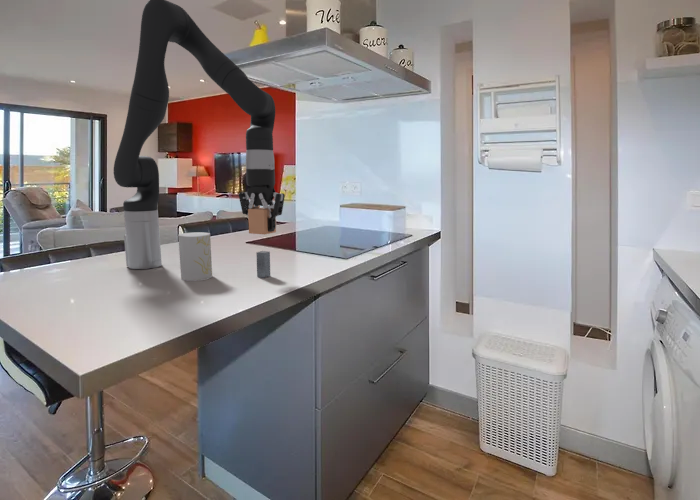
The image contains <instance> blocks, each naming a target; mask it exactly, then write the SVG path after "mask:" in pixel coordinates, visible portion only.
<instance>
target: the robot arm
mask: <svg viewBox="0 0 700 500" xmlns="http://www.w3.org/2000/svg"><path fill="white" fill-rule="evenodd" d="M139 32H140V34H139V43H138V44H139V45H138V46H139V47H138V55H137V60H136V67H135V73H134V78H133V83H132V87H131V91H130V96H129V103H128V108H127V109H128V110H127V113H126V114H127V115H126V119H125V125H124V129H123V133H122V136H121V140H120V142H119V147H118V150H117V153H116V156H115V160H114V163H113V178H114V181H115V183H116V184H117V185H118V186H120V187H123V188H136V193H134V195H133V196H131V197H130V198H128V199H126V200H124V201H123V205H122V206H123V207H122V208H123V218H124V228H125V230H124V231H125V235H124V236H123V242H124V251H125V253H124V254H125V262H126V267H128V268H129V269H132V270H147V269H155V268H159V267H161V266H162V265H163V264H162V263H163V261H162V248H161V236H160V235H161V234H160V221H159V209H158V208H159V201H160V172H159V166H158V164H157V162H156V160H155V159H154V158H152V157H151V156H148V155H147V156H146V155H141V151H142V148H143V145H144V144H145V142H146V141H147V139H148V138H149V137H150V136H151V135H152V134H153V133H154V131H155V130H156V129H158V127H159V126H160V125H161V124H162V122H163V120H164V119H165V115H166V113H167V107H168V105H169V100H170V99H169V98H170V88H169V87H170V86H169V82H168V78H167V74H166V69H165V60H166V59H165V58H166V54H167V49H168V45H169V43H175V44H177V45H178V46H180V47H182V48H183V49H184V50H185V51H187V52H189V53H190V54H191V55H192V56H193V57H194V58H195V59H196V61H198V63H199V64H200V66H201V68H202V69H203V71H204V72H205V73H206V75H207V76H208V77H209V78H210V79H211V80H212V81H213V82H214V83H215V84H216V85H217V86H219V87H220V89H222V91H224V92H225V93H226V94H227V95H229V96H230V97H231V99H232V100H233V101H234V102H235V104H236V105H237V106H238V107H239V108H240V109H241V110H242V111H244V112H245V114H247V115H249V116H250V122H249V128H247V129H246V132H245V149H246V150H245V176H246V177H245V178H246V185H247V191H245V192H239V193H238V198H239V199H238V200H239V202H240V208H241V213H242V214H243V215H246V216H248V209H256V208H261V207H262V208H264V209H266V210H267V216H268V217H269V218H267V222H268V232H272V231H274V229H275V228H276V229H277V223H275V218H276V217H278V216H282V215H283V209H284V202H285V193H280V192H279V193H278V192H276V189H275V184H276V172H275V171H276V168H275V153H274V138H273V137H274V136H273V131H274V127H275V120H276V105H275V100H274V98H273V96H272V95H270V93H268V92H267V91H265V90H263V89H261V88H260V87H259V86H257V85H256V84H255V83H254V82H252V80H251V79H249V78H248V75H246V73H245V72H244V70H242V69H241V68H240V67H239V66H238V65H236V63H235V62H233V60H231V59H230V58H229V57H228V56H227V55H226V54H225V53H223V52H222V51H221V50H220V49H219V48H218V46H216V45H215V44H214V43H213V42H212V41H211V40H210V39H209V38H208V36H207V35H206V34H205V33H204V32H203V31H202V30H201V28H200V27H199V26H198V25H197V23H196V22H195V21H194V19H193V18H192V17H191V16H190V15H189V13H188V12H187V11H186V10H185V9H184V8H183V7H181V6H180V5H178V4H176V3H174V2H171V1H168V0H148V1H147V2H146V3H145V6H144V8H143V10H142V14H141V22H140V31H139ZM270 209H271V210H270Z"/></svg>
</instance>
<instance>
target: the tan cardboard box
mask: <svg viewBox="0 0 700 500" xmlns="http://www.w3.org/2000/svg"><path fill="white" fill-rule="evenodd" d="M270 210H271V209H270ZM267 218H269V217H268V216H267V210H266V209H264V208H263V207H260V208H256V209H248V215H247V219H248V234H253V235H269V234H274V233H277V227H276V228H275V229H274V231H272V232H268V222H267ZM276 222H277V221H276V218H275V223H276ZM276 224H277V223H276Z"/></svg>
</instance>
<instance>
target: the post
mask: <svg viewBox="0 0 700 500" xmlns="http://www.w3.org/2000/svg"><path fill="white" fill-rule="evenodd" d="M255 254H256V278H262V279H266V278H269V277H271V252H270V251H266V250H261V251H256V253H255Z"/></svg>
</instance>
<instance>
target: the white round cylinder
mask: <svg viewBox="0 0 700 500" xmlns="http://www.w3.org/2000/svg"><path fill="white" fill-rule="evenodd" d="M177 235H178V248H179V249H178V251H179V266H180V267H179V268H180V279H181V280H183V281H185V282H186V281H188V282H198V281H204V280H205V279H206V280H209V279H211V278H213V267H212V265H213V264H212V249H211V248H212V245H211V244H212V243H211V242H212V241H211V233H210V232H203V231H202V232H201V231H200V232H199V231H197V232H194V231H193V232H192V231H191V232H183V233H179V234H177ZM206 280H205V281H206Z"/></svg>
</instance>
